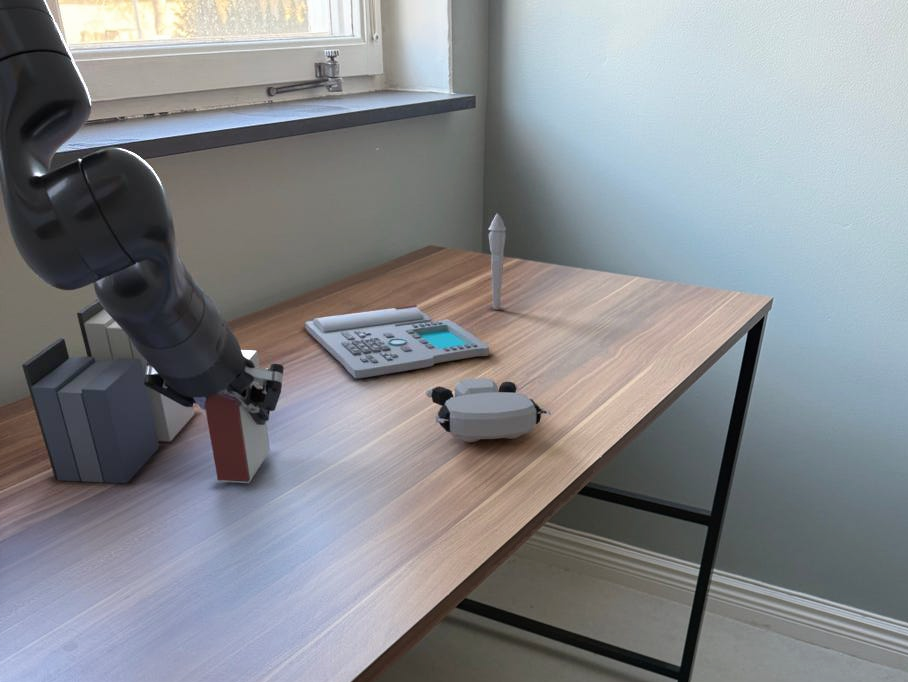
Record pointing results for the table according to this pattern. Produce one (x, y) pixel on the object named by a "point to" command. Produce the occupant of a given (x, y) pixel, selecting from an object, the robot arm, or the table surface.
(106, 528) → the table surface
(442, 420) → the robot toy
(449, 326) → the office telephone
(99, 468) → the grey books
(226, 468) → the cream book
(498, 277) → the pen
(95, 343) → the white books
